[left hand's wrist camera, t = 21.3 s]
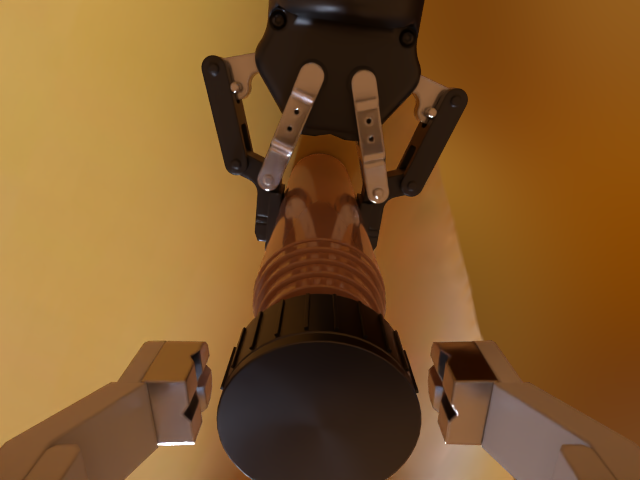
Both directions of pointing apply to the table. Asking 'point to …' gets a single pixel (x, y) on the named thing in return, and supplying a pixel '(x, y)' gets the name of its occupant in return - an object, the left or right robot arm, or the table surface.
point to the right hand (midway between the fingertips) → (314, 250)
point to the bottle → (319, 241)
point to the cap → (319, 394)
